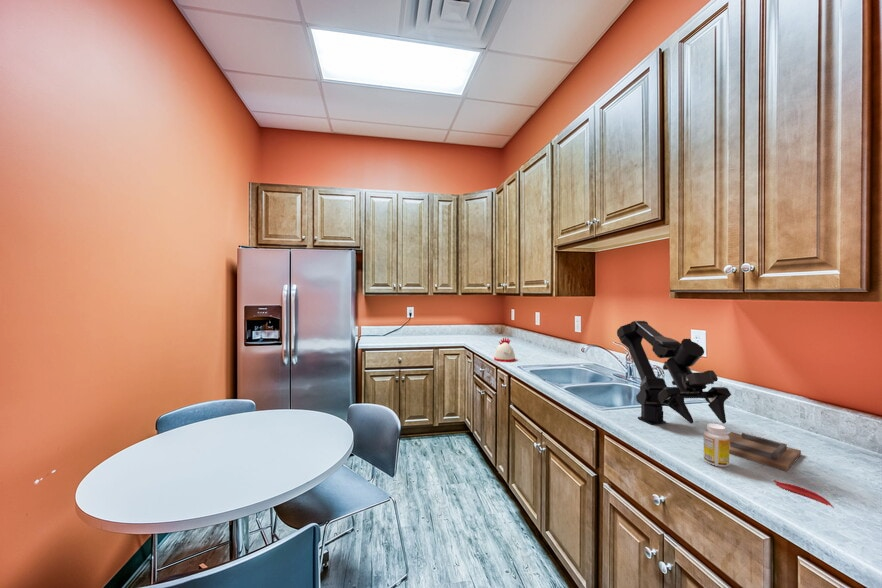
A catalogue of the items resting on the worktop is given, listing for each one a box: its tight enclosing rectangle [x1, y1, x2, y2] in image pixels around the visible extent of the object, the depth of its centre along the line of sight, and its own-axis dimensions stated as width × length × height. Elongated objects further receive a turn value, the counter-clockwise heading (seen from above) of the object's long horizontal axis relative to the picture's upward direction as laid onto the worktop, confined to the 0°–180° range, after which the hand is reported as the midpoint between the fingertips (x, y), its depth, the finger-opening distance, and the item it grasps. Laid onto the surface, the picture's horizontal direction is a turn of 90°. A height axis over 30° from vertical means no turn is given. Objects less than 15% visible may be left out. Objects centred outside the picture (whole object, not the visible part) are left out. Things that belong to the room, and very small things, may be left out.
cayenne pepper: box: [773, 479, 834, 508], centre depth 82 cm, size 12×5×2 cm, turn 6°
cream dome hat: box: [493, 337, 516, 363], centre depth 234 cm, size 14×14×15 cm
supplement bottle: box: [703, 422, 730, 468], centre depth 96 cm, size 6×6×10 cm
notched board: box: [726, 431, 802, 472], centre depth 102 cm, size 16×16×3 cm
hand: (708, 422), depth 99 cm, fingers open, 9 cm apart
